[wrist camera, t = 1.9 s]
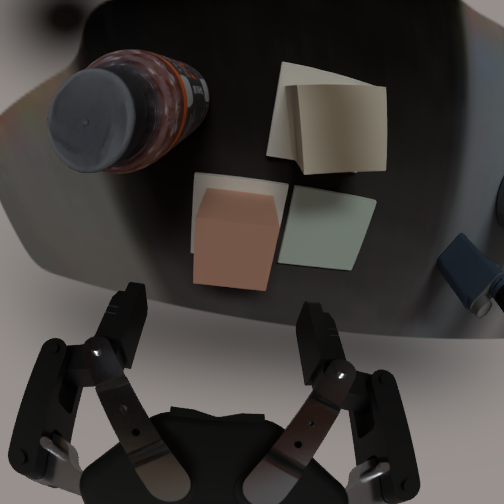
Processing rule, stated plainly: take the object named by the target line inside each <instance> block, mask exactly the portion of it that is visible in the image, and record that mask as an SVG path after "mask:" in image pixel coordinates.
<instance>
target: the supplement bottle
mask: <svg viewBox="0 0 504 504" xmlns="http://www.w3.org/2000/svg"><path fill="white" fill-rule="evenodd" d="M209 97H210V96H209V90H208V86H207V84H206V81H205V80H204V78H203V77H202V76H201V74H200V73H199V72H198V71H197V70H195V69H194V68H193V67H191V66H189V65H188V64H185V63H183V62H180V61H177V60H174V59H171V58H168V57H165V56H162V55H158V54H156V53H152V52H148V51H143V50H135V49H126V50H119V51H114V52H111V53H108V54H106V55H104V56H102V57H100V58H99V59H97V60H96V61H94V62H93V63H91V64H90V65H89V66H88V67H87V68H86V69H85V70H82V71H79V72H77V73H75V74H74V75H72V76H71V77H69V78H68V79H67V80H66V81H65V82H64V83H63V84H62V85H61V86H60V87H59V89H58V90H57V92H56V93H55V95H54V96H53V99H52V102H51V105H50V108H49V113H48V118H47V122H48V124H47V130H48V137H49V139H50V143H51V146H52V148H53V150H54V152H55V153H56V155H57V156H58V158H59V159H60V160H61V161H62V162H63V163H64V164H65V165H67V166H68V167H69V168H71V169H73V170H76V171H78V172H82V173H95V172H100V171H104V172H107V173H114V174H125V173H131V172H135V171H138V170H140V169H143V168H145V167H147V166H149V165H151V164H153V163H154V162H156V161H157V160H158V159H160V158H161V157H162V156H163V155H165V154H166V153H167V152H169V151H170V150H171V149H172V148H173V147H175V146H176V145H177V144H178V143H180V142H181V141H182V140H183V139H185V138H186V137H187V136H189V135H190V134H191V133H192V132H194V130H196V129H197V128H198V126H199V125H200V124H201V123H202V121H203V120H204V118H205V116H206V114H207V111H208V108H209Z"/></svg>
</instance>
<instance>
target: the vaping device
mask: <svg viewBox="0 0 504 504" xmlns="http://www.w3.org/2000/svg"><path fill="white" fill-rule="evenodd" d="M437 264H438V267H439V271H440V273H441V274H442V275H443V277H444V278H445V280H446V281H447V282H448V284H449V285H450V286H451V288H452V289H453V291H454V292H455V293H456V295H457V296H458V298H459V299H460V301H461V302H462V303H463V305H464V306H465V308H466V309H468V310H470V311H471V312H472V313H474V314H475V315H476V317H477V318H481V317H483V316H484V315H486V314H487V313H488V311H489V310H490V308H491V306H492V303H491V301H490V299H491V298H492V297H493V298H494V300H495V301H496V302H497V304H498V305H499V306H500V308H501V309H502V311H503V312H504V272H503V271H502V270H501V269H500V268H499V266H498V265H497V264H496V263H495V262H493V261H491V260H489V259H487V258H486V257H485V256H484V255H483V254H482V253H481V252H480V251H479V250H478V249H477V248H476V247H475V246H474V244H473V243H472V242H471V241H470V240H469V239H468V238H467V237H466V236H465V235H464V234H462V233H461V234H460V235H459V236H458V237H457V238H456V239H455V240H454V241H453V242H452V244H451V245H450V246H449V247H448V248H447V249H446V250H445V252H444V253H443V254H442V255H441V256H440V257H439V259H438V262H437Z"/></svg>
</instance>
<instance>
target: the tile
mask: <svg viewBox="0 0 504 504" xmlns="http://www.w3.org/2000/svg"><path fill="white" fill-rule="evenodd" d="M316 84H338V85H365V86H373V85H371V84H368V83H365V82H362V81H358V80H355V79H352V78H349V77H345V76H342V75H338V74H335V73H331V72H327V71H323V70H319V69H315V68H311V67H306V66H302V65H297V64H292V63H287V62H282V64H281V70H280V76H279V82H278V87H277V93H276V99H275V105H274V111H273V117H272V123H271V129H270V135H269V141H268V147H267V153H266V156H272V157H278V158H285V159H291V160H295V159H294V157H293V155H292V154H291V142H290V131H289V120H288V110H287V100H286V91H285V86H290V85H316ZM356 173H357V172H356Z"/></svg>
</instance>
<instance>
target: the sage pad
mask: <svg viewBox="0 0 504 504" xmlns="http://www.w3.org/2000/svg"><path fill="white" fill-rule="evenodd" d="M376 202H377V201H376V200H374V199H369V198H364V197H359V196H355V195H350V194H345V193H339V192H334V191H329V190H323V189H318V188H312V187H306V186H300V185H294V189H293V194H292V199H291V203H290V208H289V212H288V217H287V221H286V225H285V230H284V234H283V239H282V243H281V247H280V252H279V256H278V263H286V264H295V265H304V266H314V267H323V268H333V269H342V270H352V267H353V265H354V263H355V260H356V257H357V255H358V252H359V250H360V247H361V245H362V242H363V239H364V237H365V234H366V231H367V228H368V226H369V223H370V220H371V217H372V214H373V211H374V208H375V205H376Z"/></svg>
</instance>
